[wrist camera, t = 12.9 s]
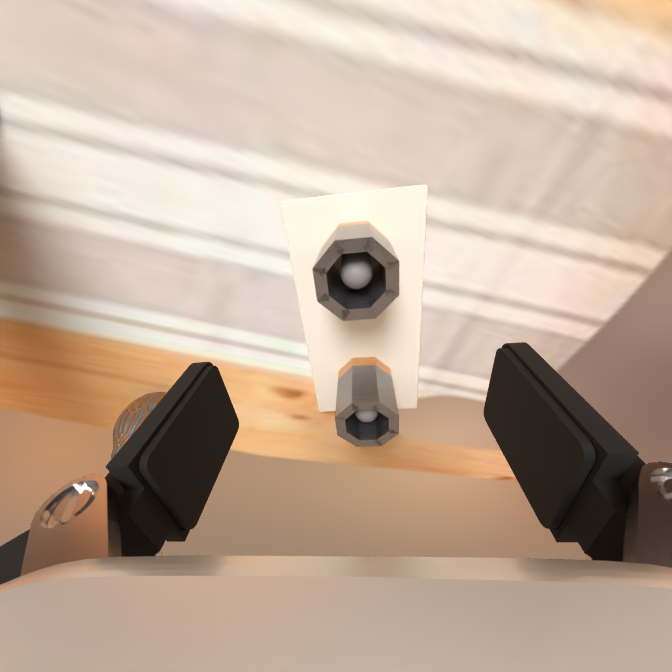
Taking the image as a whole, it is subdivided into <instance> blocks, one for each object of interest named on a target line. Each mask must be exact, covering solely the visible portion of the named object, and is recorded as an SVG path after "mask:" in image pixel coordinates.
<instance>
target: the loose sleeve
mask: <svg viewBox="0 0 672 672" xmlns="http://www.w3.org/2000/svg"><path fill="white" fill-rule="evenodd" d="M358 252H368V253H369V254H370V255H371V256H373V257H374V258H375V259H376V260H377V261H378V262H379V263H378V264H377V265H376V267H375V268H374V269H373V270H372V271H373V274H372V278H371V280H370V282H369V283H368V284H367V285H366V286H365V287H363V288H360V289H352V288H350V287H348V286H346V285H345V284H344V282H343V281H342V279H341V274H340V271H339V270H338V269H337V268H335V262H336V260H337V259H338V258H339V257H340V255H341V254H347V253H358ZM312 270H313V277H314V284H315V290H316V297H317V302H318V303H320V304H321V305H322V306H324V307H325V308H326V309H328V310H329V311H330V312H332V313H333V314H334V315H336V316H337V317H338V318H340V319H341V320H342V321H350V320H364V319H376V318H377V317H378V316H379V315H380V314H381V313H382V312H383V311H384V310H385V309H386V308H387V307H388V306H389V305H390V304H391V303H392V302H393V301H394V300H395V299H396V298H397V297H398V296H399V259H398V257H397V255H396V253H395V251H394V249H393V247H392V245H391V243H390V241H389V239H388V238H387V237H385V236H384V235H383V234H382V233H381V232H380V231H379V230H378V229H377V228H376V227H374V226H373V225H372V224H371V223H370V222H369V221H368V220H366V221H357V222H348V223H339V225H338V226H337V227H336V229H335V230H334V231H333V233H332V234H331V235H330V236H329V238H328V239H327V240H326V242H325V243H324V244H323V246H322V248H321V250H320V252H319V255H318V257H317V259H316V261H315V264H314V266H313V268H312Z"/></svg>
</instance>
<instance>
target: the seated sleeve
mask: <svg viewBox="0 0 672 672" xmlns="http://www.w3.org/2000/svg"><path fill="white" fill-rule="evenodd" d="M374 409H375V410H377V411H378V415H377V417H376V419H375V420H373V421H371V422H362V421H360V420H359V419H358V418H357V417H356V415H355V411H356V410H374ZM335 421H336V428H337V434H338V436H340V437H342V438H343V439H345V440H346V441H348V442H350V443H351V444H353V445H355V446H356V447H357V446H382V445H383V444H384V443H386V442H387V441H389V440H390V439H392V438H393V437H394V436H396V435H397V434H399V414H398V408H397V403H396V397H395V392H394V386H393V381H392V375H391V370H390V368H389V367H388V366H386V365H385V364H384V363H382V362H381V361H380V360H378V359H377V358H376V357H359V358H352V359H351V360H350V361H349V362H348V363H346V364H345V365H344V366H343V367H342V368H341V369H340V370H339V373H338V385H337V398H336V410H335Z"/></svg>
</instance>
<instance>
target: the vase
mask: <svg viewBox="0 0 672 672" xmlns="http://www.w3.org/2000/svg"><path fill="white" fill-rule="evenodd" d="M166 394H167V393H161V392H156V393H150V394H146V395H144V396H142V397H140V398H138V399H136V400H135V401H133V402H132V403H131V404H130V405H129V406H128V407H127V408H126V409H125V410H124V411H123V412H122V413H121V415H120V416H119V418H118V420H117V422H116V424H115V426H114V430H113V451H112V454H111V459H112V458H113V457H114V456H115V455H116V454H117V452H118V451H119V450H120V449H121V448H122V446H123V445H124V444H125V443H126V442H127V440H128V439H129V438H130V437H131V436H132V434H133V433H134V432H135V431H136V430H137V428H138V427H139V426H140V425H141V424H142V422H143V421H144V420H145V419H146V418H147V416H148V415H149V414H150V413H151V412H152V410H153V409H154V408H155V407H156V406H157V404H158V403H159V402H160V401H161V400H162V398H163V397H164V396H165V395H166Z"/></svg>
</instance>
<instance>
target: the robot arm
mask: <svg viewBox="0 0 672 672" xmlns="http://www.w3.org/2000/svg"><path fill="white" fill-rule="evenodd" d="M484 417H485V420H486V422H487V424H488V426H489V428H490V430H491V432H492V434H493V436H494V437H495V439H496V441H497V443H498V445H499V447H500V449H501V450H502V452H503V454H504V456H505V458H506V460H507V462H508V464H509V465H510V467H511V469H512V471H513V473H514V475H515V477H516V478H517V480H518V482H519V484H520V486H521V488H522V489H523V492H524V493H525V495H526V497H527V499H528V501H529V503H530V504H531V506H532V508H533V510H534V512H535V514H536V516H537V517H538V520H539V521H540V523H541V524H542V525H543V526H544V527H545V528H549V529H550V531H551V532H552V534H553V536H554V538H555V539H556V542H578V543H579V544H580V546H581V548H582V549H583V551H584V553H585V554H586V559H585V560H565V559H530V558H462V557H458V558H457V557H365V556H362V557H360V556H358V557H357V556H356V557H355V556H162V551H161V548H162V546H163V544H164V542H165V540H167V541H185V540H186V538H187V535H188V533H189V531H190V529H193V528H194V527H195V526H196V524H197V522H198V520H199V518H200V515H201V513H202V511H203V509H204V506H205V504H206V502H207V500H208V497H209V495H210V493H211V490H212V488H213V486H214V484H215V481H216V479H217V477H218V474H219V472H220V470H221V468H222V465H223V463H224V461H225V458H226V456H227V454H228V451H229V449H230V447H231V445H232V443H233V440H234V438H235V436H236V433H237V431H238V428H239V421H238V418H237V415H236V413H235V410H234V408H233V405H232V403H231V400H230V397H229V395H228V392H227V390H226V387H225V385H224V382H223V380H222V377H221V375H220V372H219V370H218V368H217V367H216V366H213V364H212V363H210V362H201V363H192V364H191V365H190V366H189V367H188V368H187V370H186V371H185V372H184V373H183V374H182V376H181V377H180V378H179V379H178V380H177V382H176V383H175V384H174V385H173V386H172V388H171V389H170V390H169V391H168V392H167V394H166V395H165V396H164V397H163V398H162V400H161V401H160V402H159V403H158V404H157V406H156V407H155V408H154V409H153V410H152V412H151V413H150V414H149V415H148V416H147V418H146V419H145V420H144V421H143V422H142V424H141V425H140V426H139V427H138V428H137V430H136V431H135V432H134V433H133V434H132V436H131V437H130V438H129V439H128V440H127V442H126V443H125V444H124V445H123V446H122V448H121V449H120V450H119V451H118V452H117V454H116V455H115V456H114V457H113V458H112V460H111V461H110V462H109V463H108V464H107V466H106V468H107V469H108V470H109V471H110V472H109V473H108V475H107V476H106V477H105V478H104V477H103V476H101V475H95V474H92V475H88V476H83V477H81V478H79V479H76V480H74V481H72V482H70V483H69V484H67V485H65V486H63V487H62V488H61V489H59V490H58V491H57V492H55V493H54V494H53V495H52V496H50V498H49V499H47V500H46V501H45V502H44V503H43V505H42V506H41V507H40V508H39V510H38V511H37V513H36V514H35V516H34V519H33V521H32V523H31V528H30V529H29V530H28V531H26V532H24V533H22V534H21V535H19V536H17V537H16V538H14V539H12V540H11V541H9V542H7V543H5V544H4V545H2V546H0V672H672V463H668V462H661V461H659V462H649V463H647V464H645V463H644V462H643V461H642V460H641V459H640V458H639V457H638V456H637V455H638V453H639V452H637V451H636V450H635V449H634V448H633V447H632V446H631V445H630V444H629V443H628V442H627V441H626V440H625V439H624V438H623V437H622V436H621V435H620V434H619V433H618V432H617V431H616V430H615V429H614V428H613V427H612V426H611V425H610V424H609V423H608V422H607V421H606V420H605V419H604V418H603V417H602V416H601V415H600V414H599V413H598V412H597V411H596V410H595V409H593V407H592V406H591V405H590V404H589V403H587V401H585V399H583V398H582V397H581V396H580V395H579V394H578V393H577V392H576V391H575V390H574V389H573V388H572V387H571V386H570V385H569V384H568V383H567V382H566V381H565V380H564V379H563V378H562V377H561V376H560V375H559V374H558V373H557V372H556V371H555V370H554V369H553V368H552V367H551V366H550V365H549V364H548V363H547V362H546V361H545V360H544V359H543V358H542V357H541V356H540V355H539V354H538V353H537V352H536V351H535V350H534V349H533V348H532V347H530V346H529V345H528V344H527V343H524V342H522V343H506V344H504V345H503V346H502V348H499V349H498V350H497V351H496V355H495V360H494V365H493V369H492V374H491V379H490V383H489V388H488V393H487V397H486V402H485V407H484Z"/></svg>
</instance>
